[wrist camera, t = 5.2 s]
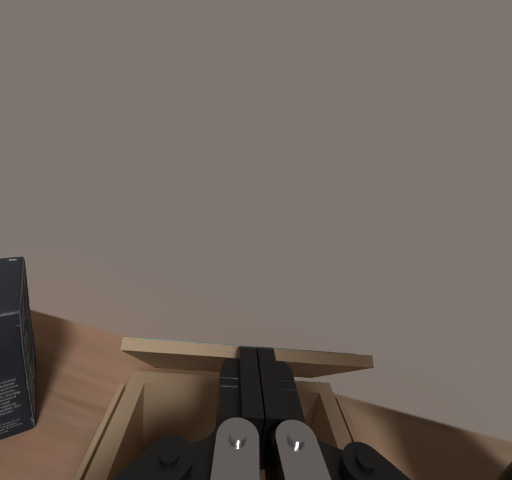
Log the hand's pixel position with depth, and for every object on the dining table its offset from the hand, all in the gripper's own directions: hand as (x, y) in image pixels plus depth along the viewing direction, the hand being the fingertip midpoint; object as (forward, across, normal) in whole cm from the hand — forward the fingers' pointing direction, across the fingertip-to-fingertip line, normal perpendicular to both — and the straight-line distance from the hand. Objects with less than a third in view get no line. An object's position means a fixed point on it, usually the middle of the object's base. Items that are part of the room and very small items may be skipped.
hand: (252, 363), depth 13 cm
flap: (+7, 0, +7) cm, 10 cm away
